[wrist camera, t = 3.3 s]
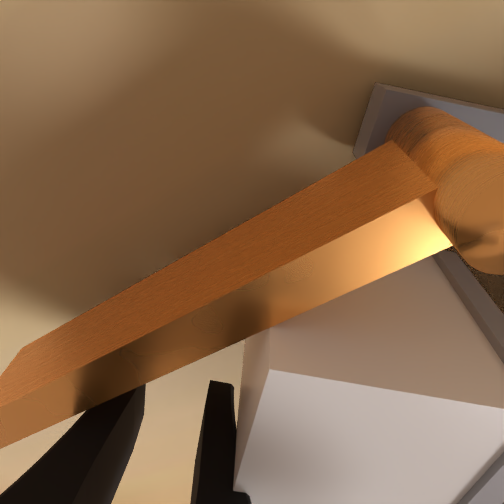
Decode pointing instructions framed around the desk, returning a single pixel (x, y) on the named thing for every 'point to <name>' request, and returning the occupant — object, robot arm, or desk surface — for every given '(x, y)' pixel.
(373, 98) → the socket block
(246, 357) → the plug
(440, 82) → the desk surface
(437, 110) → the orange long bar
